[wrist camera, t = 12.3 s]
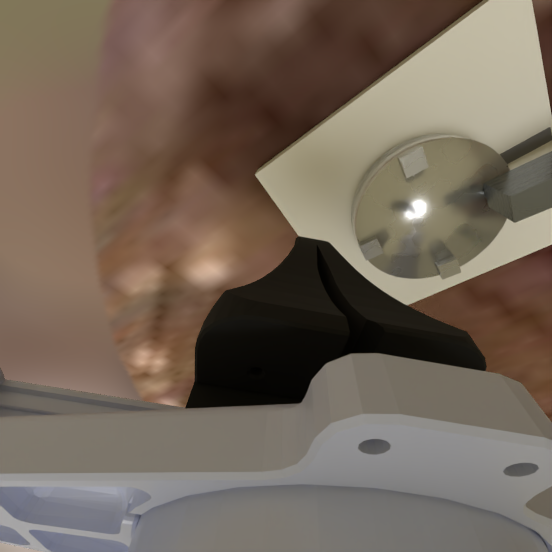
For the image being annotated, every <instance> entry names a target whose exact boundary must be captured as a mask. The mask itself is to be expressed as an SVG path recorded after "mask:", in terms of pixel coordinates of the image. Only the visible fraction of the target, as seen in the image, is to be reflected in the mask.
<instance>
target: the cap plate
mask: <svg viewBox="0 0 552 552" xmlns="http://www.w3.org/2000/svg"><path fill="white" fill-rule="evenodd" d="M437 133H440V134H451V135H456V136H460V137H464V138H468V139H471V140H475V141H478V142H480V143H483V144H486V145H487V146H489V147H491V148H492V149H494V150H495V151H496V152H497V153H498V154H500V155H501V156H502V158H503V159H504V160H505V162H506V163H507V165H508V167H509V169H510V170H512V169H514V168H517V167H519V166H521V165H523V164H525V163H527V162H529V161H531V160H534V159H536V158H538V157H540V156H542V155H544V154H546V153H548V152H551V151H552V115H551V109H550V103H549V97H548V91H547V86H546V80H545V74H544V68H543V63H542V57H541V51H540V45H539V39H538V34H537V28H536V22H535V16H534V11H533V5H532V0H483V1H482V2H480V3H479V4H478V5H476V6H475V7H474V8H472V9H471V10H470V11H468V12H467V13H466V14H464V15H463V16H462V17H460V18H459V19H458V20H456V21H455V22H454V23H452V24H451V25H450V26H448V27H447V28H446V29H444V30H443V31H442V32H440V33H439V34H438V35H436V36H435V37H434V38H432V39H431V40H430V41H428V42H427V43H426V44H424V45H423V46H422V47H420V48H419V49H418V50H416V51H415V52H414V53H412V54H411V55H410V56H408V57H407V58H406V59H404V60H403V61H402V62H400V63H399V64H398V65H396V66H395V67H394V68H392V69H391V70H390V71H388V72H387V73H386V74H384V75H383V76H382V77H380V78H379V79H378V80H376V81H375V82H374V83H372V84H371V85H370V86H368V87H367V88H366V89H364V90H363V91H362V92H360V93H359V94H358V95H356V96H355V97H354V98H352V99H351V100H350V101H348V102H347V103H346V104H344V105H343V106H342V107H340V108H339V109H338V110H336V111H335V112H334V113H332V114H331V115H330V116H328V117H327V118H326V119H324V120H323V121H322V122H320V123H319V124H318V125H316V126H315V127H314V128H312V129H311V130H310V131H308V132H307V133H306V134H304V135H303V136H302V137H300V138H299V139H298V140H296V141H295V142H294V143H292V144H291V145H290V146H288V147H287V148H286V149H284V150H283V151H282V152H280V153H279V154H278V155H276V156H275V157H274V158H272V159H271V160H270V161H268V162H267V163H266V164H264V165H263V166H262V167H260V168H259V169H258V170H257V172H256V174H255V176H256V177H257V178H258V180H259V181H260V183H261V184H262V185H263V187H264V188H265V190H266V191H267V192H268V194H269V195H270V197H271V198H272V199H273V201H274V202H275V204H276V205H277V206H278V208H279V209H280V211H281V212H282V213H283V215H284V216H285V218H286V219H287V220H288V222H289V223H290V225H291V226H292V227H293V229H294V230H295V232H296V233H297V234H298V236H301V237H306V238H312V239H317V240H323V241H328V242H329V243H330V244H332V245H333V247H334V248H335V249H336V250H337V251H338V252H339V253H340V254H341V255H342V256H343V257H344V258H345V259H346V260H347V261H348V262H349V263H350V264H351V265H352V266H353V267H354V268H355V269H356V270H357V271H358V272H359V273H360V274H362V275H363V276H364V277H365V278H366V279H367V280H369V281H370V282H371V283H373V284H374V285H375V286H377V287H378V288H379V289H381V290H382V291H384V292H385V293H387V294H388V295H390V296H392V297H393V298H395V299H397V300H398V301H400V302H402V303H403V304H405V305H409V304H411V303H414V302H416V301H418V300H421V299H423V298H426V297H428V296H430V295H433V294H435V293H437V292H440V291H442V290H445V289H447V288H449V287H452V286H454V285H456V284H459V283H461V282H464V281H466V280H468V279H471V278H473V277H475V276H478V275H480V274H483V273H485V272H487V271H490V270H492V269H494V268H497V267H499V266H502V265H504V264H506V263H509V262H511V261H513V260H516V259H518V258H521V257H523V256H525V255H528V254H530V253H532V252H535V251H537V250H540V249H542V248H544V247H547V246H549V245H552V208H550V209H547V210H545V211H543V212H540V213H538V214H535V215H533V216H530V217H528V218H526V219H523V220H521V221H518V222H516V223H514V222H512V221H511V220H509V219H507V220H506V222H505V224H504V226H503V228H502V229H501V231H500V232H499V234H498V235H497V236H496V238H495V239H494V240H493V241H492V242H491V244H490V245H489V246H488V247H487V248H486V249H484V250H483V251H482V252H481V253H480V254H479V255H477V256H476V257H475V258H474V259H472V260H471V261H469V262H468V263H466V264H464V265H462V266H461V267H460V270H461V273H459V274H456V275H454V276H451V277H448V278H446V279H443V280H442V278H441V277H440V276H439V275H438V276H434V277H429V278H422V279H407V278H400V277H395V276H392V275H389V274H387V273H384V272H382V271H381V270H379V269H377V268H376V267H375V266H373V265H372V264H371V263H370V262H369V261H368V260H367V261H366V260H365V258H364V256H363V254H362V252H361V250H360V248H359V245H358V241H357V239H356V236H355V234H354V231H353V227H352V222H351V207H352V202H353V198H354V195H355V192H356V190H357V187H358V185H359V183H360V181H361V180H362V178H363V177H364V175H365V173H366V172H367V171H368V170H369V168H370V167H371V166H372V165H373V164H374V163H375V162H376V161H377V160H378V159H379V158H380V157H381V156H382V155H384V154H385V153H386V152H387V151H389V150H390V149H392V148H394V147H395V146H397V145H399V144H401V143H403V142H405V141H407V140H409V139H412V138H415V137H418V136H423V135H427V134H437Z"/></svg>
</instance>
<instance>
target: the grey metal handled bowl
mask: <svg viewBox="0 0 552 552" xmlns="http://www.w3.org/2000/svg"><path fill="white" fill-rule="evenodd" d="M550 208H552V151H551V152H548V153H546V154H544V155H542V156H540V157H538V158H536V159H534V160H531V161H529V162H527V163H525V164H523V165H521V166H519V167H517V168H514V169H512V170H510V169H509V167H508V165H507V163H506V162H505V160H504V159H503V158H502V156H501V155H500V154H498V153H497V152H496V151H495V150H494V149H492V148H491V147H489V146H487V145H486V144H483V143H480V142H478V141H475V140H471V139H468V138H464V137H460V136H456V135H451V134H440V133H437V134H427V135H423V136H418V137H415V138H412V139H409V140H407V141H405V142H403V143H401V144H399V145H397V146H395V147H394V148H392V149H390V150H389V151H387V152H386V153H385V154H384V155H382V156H381V157H380V158H379V159H378V160H377V161H376V162H375V163H374V164H373V165H372V166H371V167H370V168H369V170H368V171H367V172H366V173H365V175H364V177H363V178H362V180H361V181H360V183H359V185H358V187H357V190H356V192H355V195H354V198H353V202H352V207H351V222H352V227H353V231H354V234H355V236H356V239H357V241H358V245H359V248H360V250H361V252H362V254H363V256H364V258H365V260H366V261H367V260H368V261H369V262H370V263H371V264H372V265H373V266H375V267H376V268H377V269H379V270H381V271H382V272H384V273H387V274H389V275H392V276H395V277H400V278H407V279H422V278H429V277H434V276H438V275H439V276H440V277H441V278H442V280H443V279H446V278H448V277H451V276H454V275H456V274H459V273H461V270H460V267H461V266H462V265H464V264H466V263H468V262H469V261H471V260H472V259H474V258H475V257H476V256H477V255H479V254H480V253H481V252H482V251H483V250H484V249H486V248H487V247H488V246H489V245H490V244H491V242H492V241H493V240H494V239H495V238H496V236H497V235H498V234H499V232H500V231H501V229H502V228H503V226H504V224H505V222H506V220H507V219H509V220H511V221H512V222H514V223H516V222H518V221H521V220H523V219H526V218H528V217H530V216H533V215H535V214H538V213H540V212H543V211H545V210H547V209H550Z"/></svg>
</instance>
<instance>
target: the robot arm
mask: <svg viewBox="0 0 552 552" xmlns="http://www.w3.org/2000/svg"><path fill="white" fill-rule="evenodd" d="M0 543H5V544H9V545H14V546H20V547H24V548H29V549H34V550H38V551H43V552H552V422H551V421H550V420H549V418H548V417H547V416H546V415H545V413H544V412H543V411H542V409H541V408H540V407H539V405H538V404H537V403H536V402H535V400H534V399H533V398H532V396H531V395H530V394H529V392H528V391H527V390H526V388H525V387H524V386H523V385H522V383H520V382H518V381H515V380H513V379H511V378H508V377H506V376H503V375H501V374H497V373H492V372H486V362H485V357H484V356H483V355H482V353H481V352H480V350H479V349H478V347H477V346H476V344H475V343H474V341H473V340H472V338H471V337H470V336H469V334H468V333H467V332H466V331H463V330H461V329H458V328H456V327H453V326H451V325H448V324H446V323H443V322H441V321H438V320H436V319H433V318H431V317H429V316H427V315H425V314H423V313H421V312H419V311H417V310H415V309H413V308H411V307H409V306H407V305H405V304H403V303H402V302H400V301H398V300H397V299H395V298H393V297H392V296H390V295H388V294H387V293H385V292H384V291H382V290H381V289H379V288H378V287H377V286H375V285H374V284H373V283H371V282H370V281H369V280H367V279H366V278H365V277H364V276H363V275H362V274H360V273H359V272H358V271H357V270H356V269H355V268H354V267H353V266H352V265H351V264H350V263H349V262H348V261H347V260H346V259H345V258H344V257H343V256H342V255H341V254H340V253H339V252H338V251H337V250H336V249H335V248H334V247H333V245H332V244H330V243H329V242H328V241H323V240H317V239H312V238H306V237H301V236H299V237H297V238H296V241H295V245H294V247H293V249H292V250H291V252H290V253H289V255H288V256H287V257H286V258H285V259H284V260H283V262H282V263H281V264H280V265H279V266H278V267H276V268H275V269H274V270H273V271H272V272H270V273H269V274H267V275H266V276H264V277H263V278H261V279H259V280H257V281H255V282H253V283H250V284H248V285H245V286H241V287H237V288H234V289H230V290H226V291H225V292H224V293H223V294H222V295H221V297H220V298H219V299H218V301H217V302H216V303H215V305H214V306H213V308H212V309H211V311H210V313H209V314H208V316H207V318H206V319H205V321H204V323H203V326H202V328H201V331H200V333H199V335H198V338H197V342H196V347H195V382H194V385H193V388H192V391H191V394H190V396H189V399H188V402H187V405H186V408H183V407H177V406H170V405H164V404H158V403H151V402H145V401H139V400H132V399H126V398H120V397H113V396H107V395H101V394H94V393H88V392H82V391H75V390H69V389H63V388H56V387H50V386H43V385H37V384H30V383H25V382H18V381H12V380H6V379H5V378H4V374H3V372H2V370H1V368H0Z"/></svg>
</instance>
